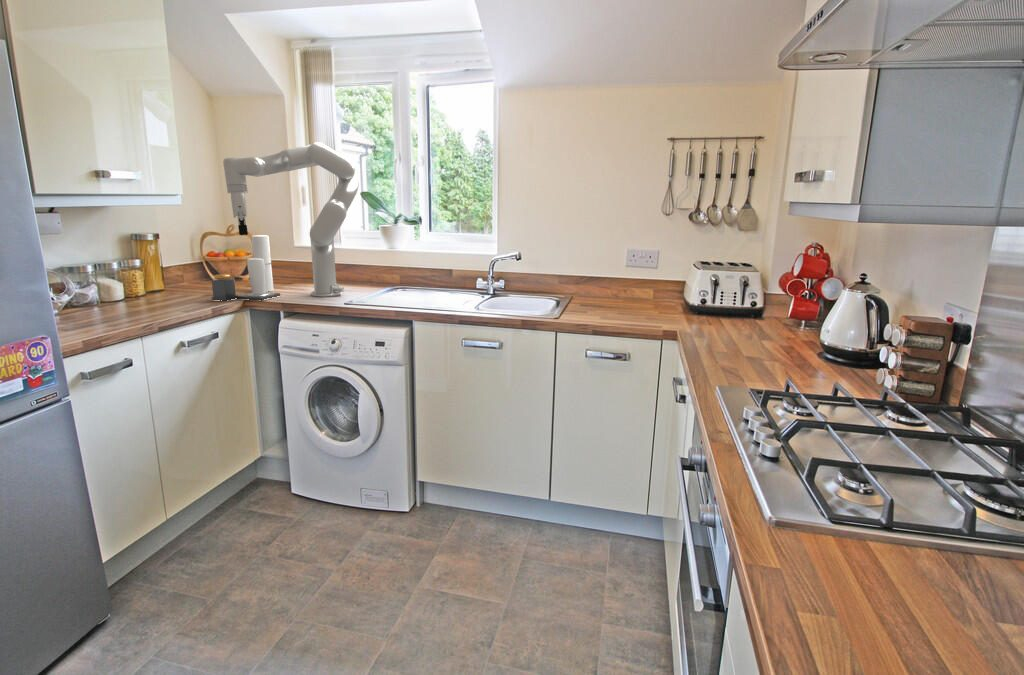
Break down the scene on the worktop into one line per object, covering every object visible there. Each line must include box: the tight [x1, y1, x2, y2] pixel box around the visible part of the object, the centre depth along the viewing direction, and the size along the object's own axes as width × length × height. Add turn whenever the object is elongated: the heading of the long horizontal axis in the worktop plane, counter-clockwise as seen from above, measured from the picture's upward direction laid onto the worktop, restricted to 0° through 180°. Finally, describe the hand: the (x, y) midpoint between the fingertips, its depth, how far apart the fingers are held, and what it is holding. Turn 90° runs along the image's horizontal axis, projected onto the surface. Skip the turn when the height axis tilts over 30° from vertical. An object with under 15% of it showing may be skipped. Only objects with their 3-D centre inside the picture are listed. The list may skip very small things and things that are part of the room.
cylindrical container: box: [250, 234, 275, 292], centre depth 259 cm, size 7×7×25 cm
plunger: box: [213, 273, 232, 280], centre depth 238 cm, size 6×6×8 cm
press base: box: [211, 278, 281, 302], centre depth 242 cm, size 20×18×8 cm
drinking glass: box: [246, 257, 266, 295], centre depth 242 cm, size 7×7×15 cm
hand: (243, 234), depth 239 cm, fingers closed
